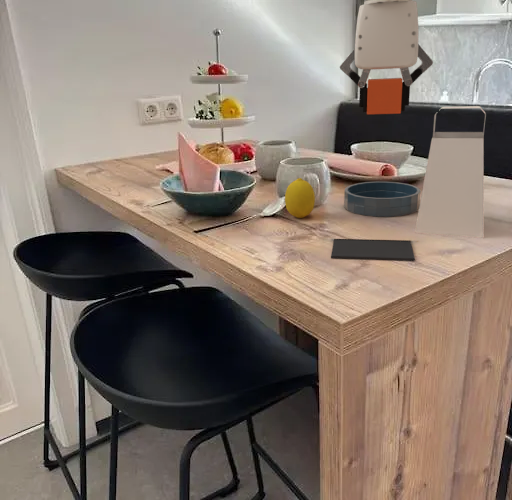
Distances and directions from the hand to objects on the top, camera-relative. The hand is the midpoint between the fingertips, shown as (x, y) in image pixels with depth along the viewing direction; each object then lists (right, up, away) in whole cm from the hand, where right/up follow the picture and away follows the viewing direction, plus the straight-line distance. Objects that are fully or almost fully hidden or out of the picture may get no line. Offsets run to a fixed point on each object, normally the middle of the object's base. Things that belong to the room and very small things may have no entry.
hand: (383, 110), depth 86 cm
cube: (0, 0, 0) cm, 0 cm away
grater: (+11, -21, -1) cm, 23 cm away
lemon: (-14, -19, +8) cm, 24 cm away
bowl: (+3, -16, +12) cm, 20 cm away
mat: (-4, -24, -9) cm, 26 cm away
